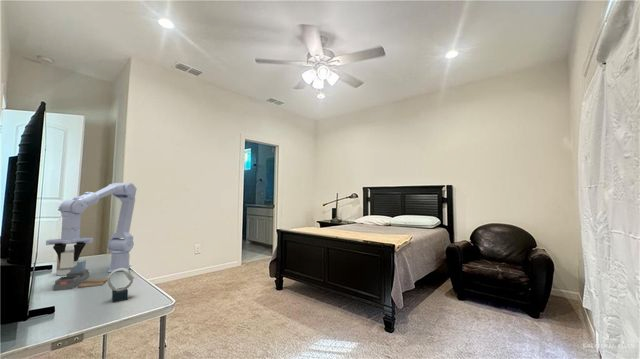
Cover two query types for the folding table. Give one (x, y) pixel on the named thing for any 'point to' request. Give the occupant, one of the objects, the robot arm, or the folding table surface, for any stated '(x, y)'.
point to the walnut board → (93, 282)
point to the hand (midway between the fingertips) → (68, 261)
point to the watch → (120, 293)
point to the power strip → (70, 280)
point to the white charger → (67, 259)
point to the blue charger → (78, 267)
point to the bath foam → (59, 270)
